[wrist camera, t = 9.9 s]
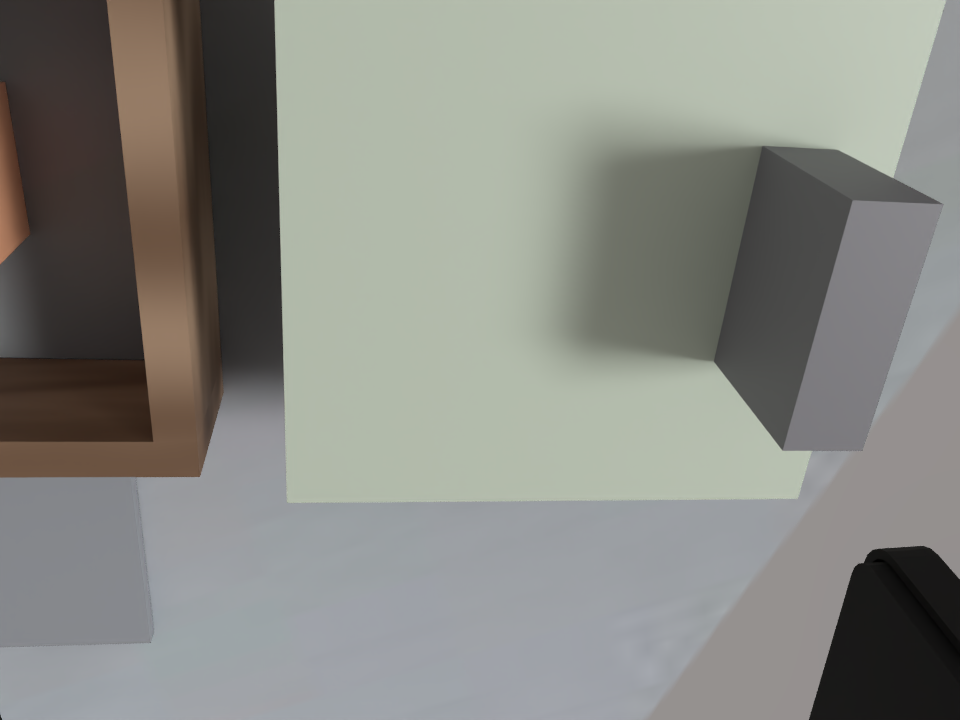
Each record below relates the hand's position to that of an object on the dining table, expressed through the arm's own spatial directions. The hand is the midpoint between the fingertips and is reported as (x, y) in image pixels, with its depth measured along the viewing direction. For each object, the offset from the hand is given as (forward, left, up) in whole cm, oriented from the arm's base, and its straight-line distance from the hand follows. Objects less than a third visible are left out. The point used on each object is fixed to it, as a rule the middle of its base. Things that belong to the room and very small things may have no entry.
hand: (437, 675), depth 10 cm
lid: (0, +5, -15) cm, 16 cm away
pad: (+14, -13, -20) cm, 28 cm away
